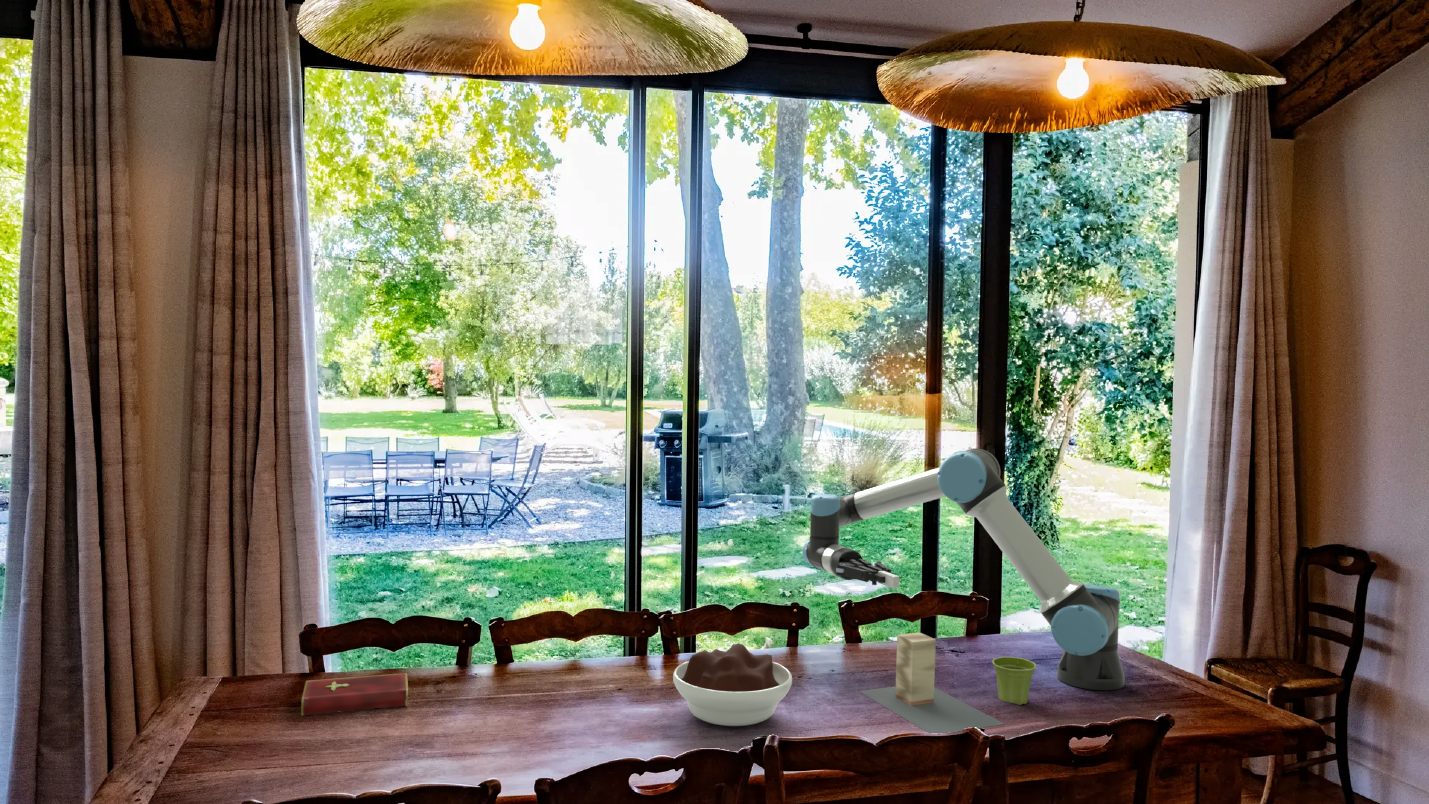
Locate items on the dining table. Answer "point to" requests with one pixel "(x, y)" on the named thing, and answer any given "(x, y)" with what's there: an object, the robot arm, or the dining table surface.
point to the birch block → (915, 668)
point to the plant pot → (1013, 678)
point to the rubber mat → (934, 711)
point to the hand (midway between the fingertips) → (896, 582)
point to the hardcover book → (354, 693)
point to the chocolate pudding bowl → (732, 686)
